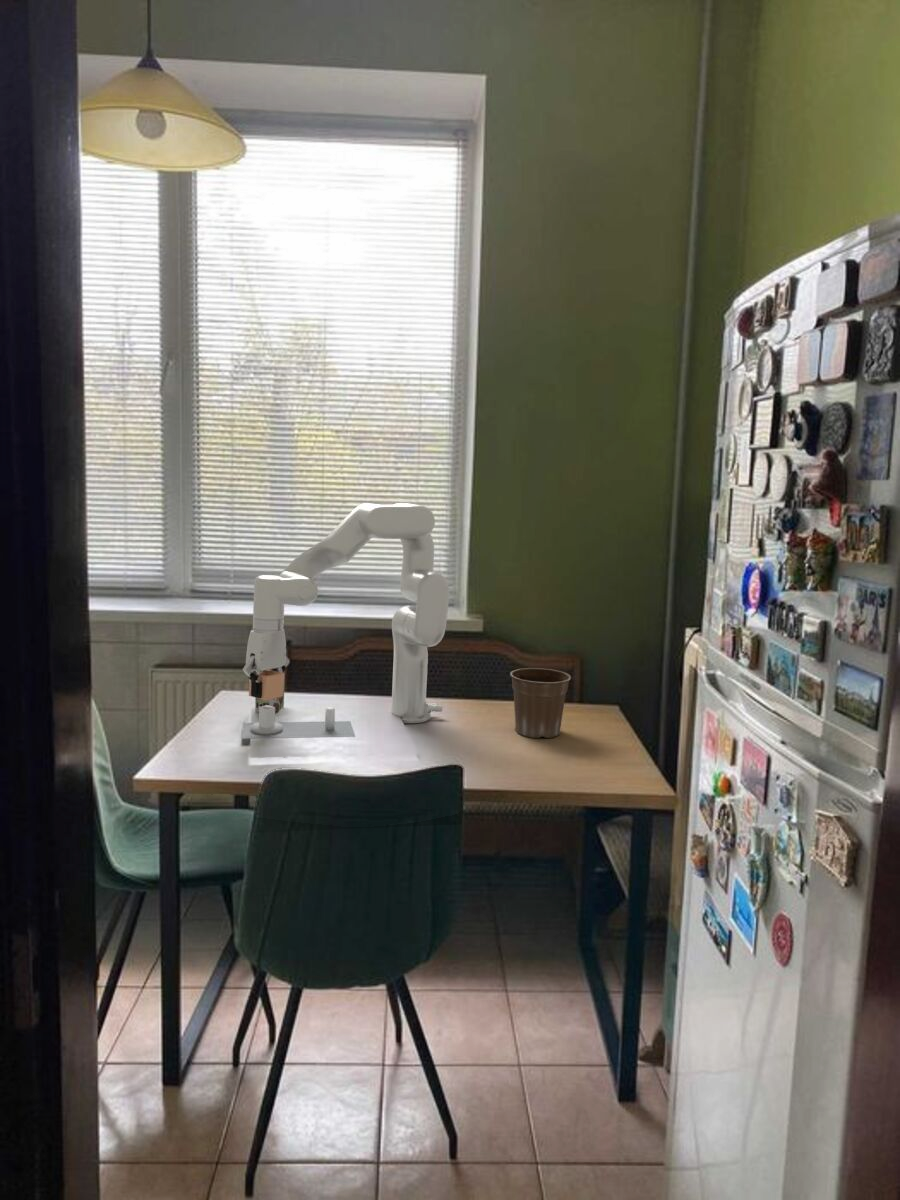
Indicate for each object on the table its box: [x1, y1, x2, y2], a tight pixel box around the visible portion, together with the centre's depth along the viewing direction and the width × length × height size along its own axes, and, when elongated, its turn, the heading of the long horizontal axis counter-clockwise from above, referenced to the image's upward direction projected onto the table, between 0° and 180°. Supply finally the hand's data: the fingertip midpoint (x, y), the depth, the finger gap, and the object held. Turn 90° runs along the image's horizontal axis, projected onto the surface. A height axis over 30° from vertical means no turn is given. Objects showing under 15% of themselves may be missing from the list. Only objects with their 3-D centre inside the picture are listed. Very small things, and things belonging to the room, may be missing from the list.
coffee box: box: [254, 682, 285, 714], centre depth 241 cm, size 9×6×16 cm
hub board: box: [241, 705, 356, 745], centre depth 224 cm, size 28×13×8 cm, turn 102°
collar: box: [248, 670, 285, 700], centre depth 220 cm, size 6×6×6 cm
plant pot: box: [509, 667, 572, 739], centre depth 236 cm, size 16×16×16 cm
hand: (265, 693), depth 221 cm, fingers closed on collar, 6 cm apart
